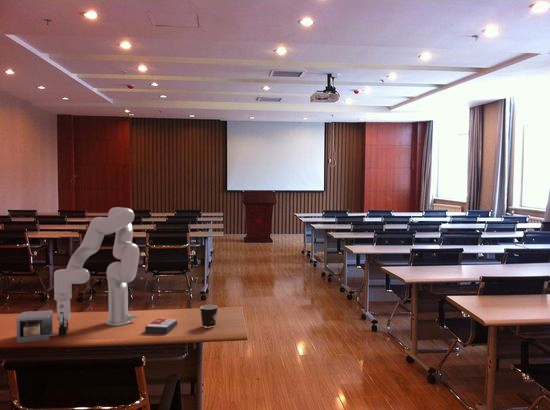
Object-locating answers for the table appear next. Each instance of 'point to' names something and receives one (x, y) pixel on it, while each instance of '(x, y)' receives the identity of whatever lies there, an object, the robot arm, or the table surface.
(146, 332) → the flat cardboard box
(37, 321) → the block
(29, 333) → the corded block
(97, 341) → the table surface
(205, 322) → the coffee mug
